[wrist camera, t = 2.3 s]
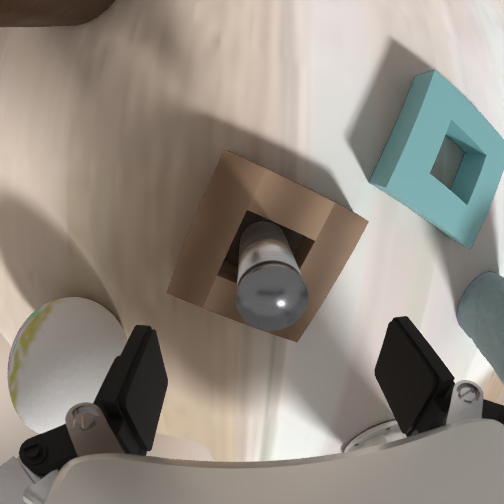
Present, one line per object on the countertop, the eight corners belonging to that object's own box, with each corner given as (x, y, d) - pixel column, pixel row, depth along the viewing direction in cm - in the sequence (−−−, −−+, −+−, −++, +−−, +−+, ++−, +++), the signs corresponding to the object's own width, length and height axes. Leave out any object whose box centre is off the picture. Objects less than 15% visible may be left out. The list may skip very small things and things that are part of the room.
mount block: (353, 212, 24) (368, 221, 21) (291, 320, 28) (297, 342, 24) (227, 150, 22) (223, 150, 19) (175, 275, 26) (166, 292, 23)
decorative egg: (50, 266, 26) (-40, 341, 11) (147, 302, 27) (85, 419, 13) (56, 348, 29) (0, 427, 15) (138, 382, 31) (102, 482, 17)
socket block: (489, 145, 22) (510, 147, 18) (450, 238, 25) (470, 249, 22) (414, 76, 20) (435, 69, 16) (368, 182, 23) (385, 187, 20)
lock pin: (294, 232, 25) (321, 284, 15) (273, 271, 26) (287, 339, 17) (251, 213, 24) (254, 255, 15) (232, 254, 25) (224, 316, 16)
